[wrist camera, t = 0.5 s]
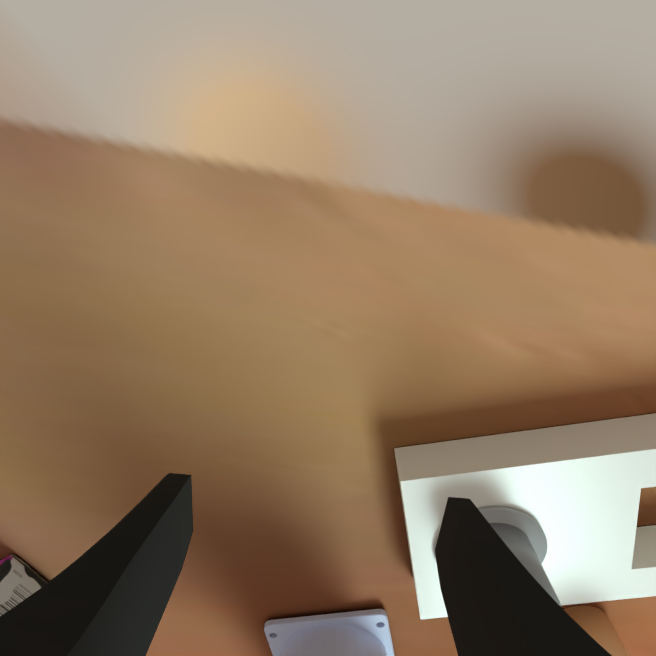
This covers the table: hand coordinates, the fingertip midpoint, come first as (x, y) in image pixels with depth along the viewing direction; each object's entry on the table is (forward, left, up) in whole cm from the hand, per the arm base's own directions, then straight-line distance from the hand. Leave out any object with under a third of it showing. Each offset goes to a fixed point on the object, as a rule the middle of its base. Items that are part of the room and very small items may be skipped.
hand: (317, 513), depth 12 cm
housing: (-11, -12, -10) cm, 19 cm away
